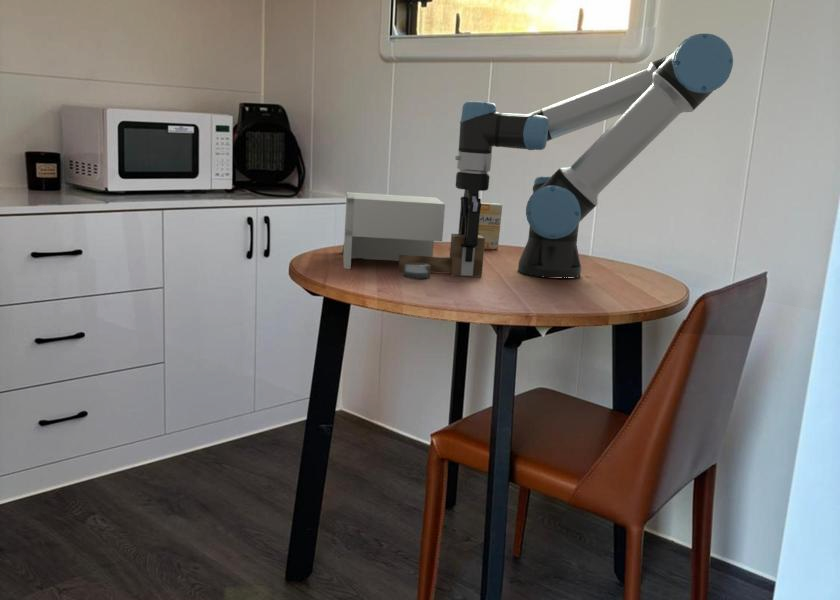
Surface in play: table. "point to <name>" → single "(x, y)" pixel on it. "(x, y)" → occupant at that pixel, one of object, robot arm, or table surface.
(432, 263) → the tan block on stick
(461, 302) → the table surface
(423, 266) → the shiny grey metal dome
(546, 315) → the table surface
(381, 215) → the shelf cabinet
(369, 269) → the table surface
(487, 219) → the supplement box
